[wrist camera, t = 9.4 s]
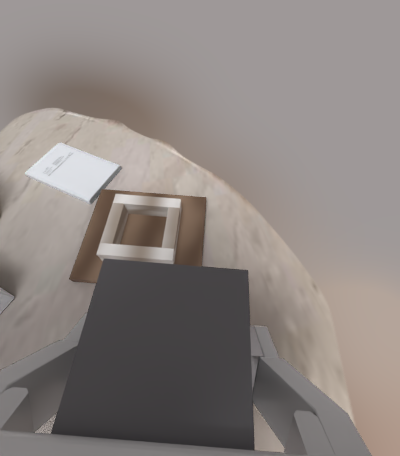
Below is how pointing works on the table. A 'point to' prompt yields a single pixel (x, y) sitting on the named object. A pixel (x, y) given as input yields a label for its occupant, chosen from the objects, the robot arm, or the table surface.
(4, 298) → the skincare box
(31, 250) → the table surface
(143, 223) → the socket board
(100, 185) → the external hard drive
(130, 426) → the plug
